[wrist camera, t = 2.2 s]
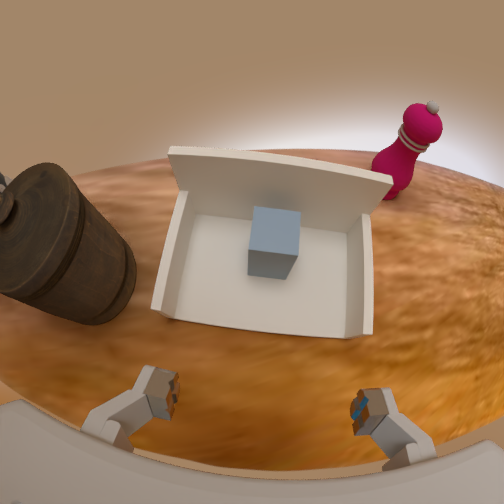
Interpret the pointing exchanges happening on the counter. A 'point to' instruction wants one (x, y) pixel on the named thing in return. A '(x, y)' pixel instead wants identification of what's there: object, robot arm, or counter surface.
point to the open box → (238, 236)
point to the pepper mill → (408, 145)
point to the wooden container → (61, 249)
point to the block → (273, 242)
